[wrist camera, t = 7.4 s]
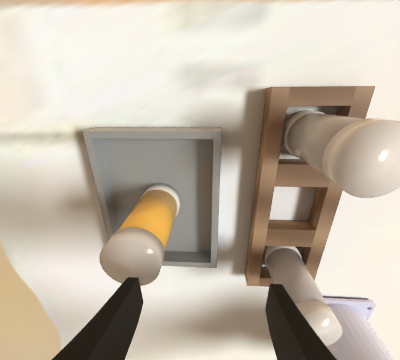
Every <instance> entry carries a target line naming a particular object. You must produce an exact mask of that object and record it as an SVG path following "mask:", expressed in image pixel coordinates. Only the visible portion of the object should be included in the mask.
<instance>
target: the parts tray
mask: <svg viewBox="0 0 400 360" xmlns="http://www.w3.org/2000/svg"><path fill="white" fill-rule="evenodd" d="M82 132H83V136H84V140H85V144H86V148H87V152H88V156H89V161H90V165H91V169H92V173H93V177H94V181H95V186H96V190H97V194H98V198H99V202H100V206H101V211H102V215H103V219H104V223H105V227H106V231H107V236H108V240H109V239H110V238H111V237H112V235H113V234H114V233H115V232H116V231H118V230H119V228H120V227H121V226H122V224H123V223H124V222H125V220H126V219H127V217H128V216H129V215H130V213H131V212H132V211H133V209H134V208H135V206H136V205H137V204H138V202H139V201H140V199H141V196H142V195H143V194H144V192H145V191H146V189H147V188H148V187H149V186H151V185H153V184H156V183H164V184H168V185H170V186H172V187H173V188H175V189H176V191H177V192H178V193H179V195H180V198H181V204H180V208H179V211H178V214H177V216H176V217H175V220H174V223H173V226H172V229H171V232H170V235H169V239H168V242H167V245H166V248H165V255H164V259H163V262H162V265H163V266H186V267H209V268H217V242H218V215H219V187H220V160H221V133H222V131H221V128H218V127H96V128H91V129H87V130H83V131H82Z"/></svg>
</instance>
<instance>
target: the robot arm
mask: <svg viewBox="0 0 400 360" xmlns="http://www.w3.org/2000/svg"><path fill="white" fill-rule="evenodd" d="M324 300H325V301H326V303H327V305H328V306H329V307H330V308H331V310H332V311H333V313H334V315H335V317H336V318H337V320H338V322H339V324H340V325H341V327H342V335H341V337H340V338H339V339H338V340H337V341H336V342H335V343H333V344H331V345H329V346H326V345H325V344H324V343H323V342H322V340H321V339H320V338H319V336H318V335H317V334H316V332H315V331H314V330H313V328H312V327H311V326H310V324H309V323H308V321H307V320H306V319H305V317H304V316H303V314H302V313H301V312H300V310H299V309H298V307H297V306H296V304H295V303H294V301H293V300H292V298H291V297H290V295H289V294H288V292H287V291H286V289H285V288H284V286H283V285H282V284H270V286H269V292H268V298H267V303H266V315H267V321H268V326H269V331H270V335H271V339H272V342H273V346H274V349H275V353H276V357H277V360H394V358H393V357H392V355H391V354H390V352H389V351H388V350H387V348H386V347H385V345H384V344H383V342H382V341H381V340H380V338H379V337H378V335H377V334H376V332H375V331H374V329H373V328H372V327H371V325H370V324H369V322H368V321H367V320H368V318H369V316H370V314H371V313H372V311H373V309H374V307H375V303H374V302H373V301H372V300H361V299H341V298H324ZM142 305H143V299H142V293H141V288H140V283H139V278H136V277H128V278H126V280H125V281H124V282H123V283H122V284H121V286H120V287H119V288H118V289H117V291H116V292H115V293H114V294H113V295H112V297H111V298H110V299H109V300H108V301H107V302H106V304H105V305H104V306H103V307H102V308H101V309H100V310H99V312H98V313H97V314H96V315H95V316H94V317H93V318H92V319H91V320H90V322H89V323H88V324H87V325H86V326H85V327H84V328H83V329H82V330H81V331H80V332H79V333H78V334H77V335H76V336H75V337H74V338H73V339H72V340H71V341H70V342H69V343H68V344H67V345H66V346H65V347H64V348H63V349H62V350H61V351H60V352H59V353H58V354H57V355H56V356H55V357H54V358H53V359H52V360H125V357H126V354H127V352H128V349H129V346H130V344H131V341H132V338H133V335H134V333H135V330H136V327H137V324H138V321H139V317H140V313H141V309H142Z"/></svg>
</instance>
